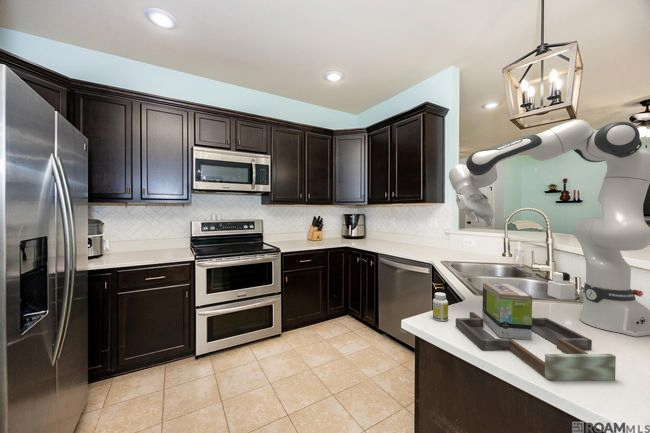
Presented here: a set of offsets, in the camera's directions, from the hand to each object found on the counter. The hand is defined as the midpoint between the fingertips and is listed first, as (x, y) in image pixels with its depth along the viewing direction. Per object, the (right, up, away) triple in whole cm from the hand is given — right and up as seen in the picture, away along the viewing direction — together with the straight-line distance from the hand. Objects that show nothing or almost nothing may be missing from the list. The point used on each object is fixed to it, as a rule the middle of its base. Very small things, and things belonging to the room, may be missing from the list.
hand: (483, 224), depth 106 cm
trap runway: (0, -37, -24) cm, 44 cm away
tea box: (0, -37, -13) cm, 39 cm away
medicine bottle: (+49, -36, +20) cm, 64 cm away
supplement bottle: (-19, -37, -4) cm, 42 cm away
